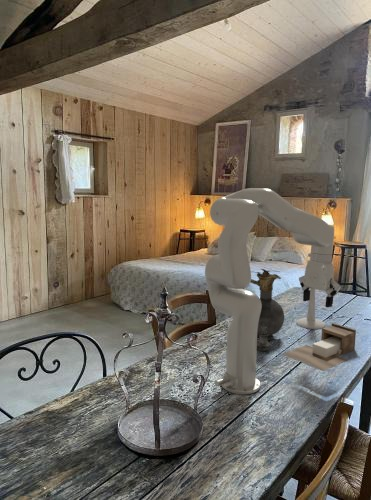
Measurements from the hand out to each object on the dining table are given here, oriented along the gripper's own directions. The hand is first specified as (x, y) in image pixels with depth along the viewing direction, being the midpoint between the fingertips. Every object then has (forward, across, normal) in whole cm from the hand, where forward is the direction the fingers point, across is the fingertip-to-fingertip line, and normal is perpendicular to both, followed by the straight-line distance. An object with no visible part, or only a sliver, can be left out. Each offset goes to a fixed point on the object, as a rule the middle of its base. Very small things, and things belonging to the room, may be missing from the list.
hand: (317, 303), depth 151 cm
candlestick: (+20, -24, +32) cm, 44 cm away
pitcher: (+21, -27, +1) cm, 34 cm away
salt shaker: (+22, -15, -11) cm, 29 cm away
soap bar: (+20, +1, +10) cm, 22 cm away
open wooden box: (+21, +1, +5) cm, 21 cm away
